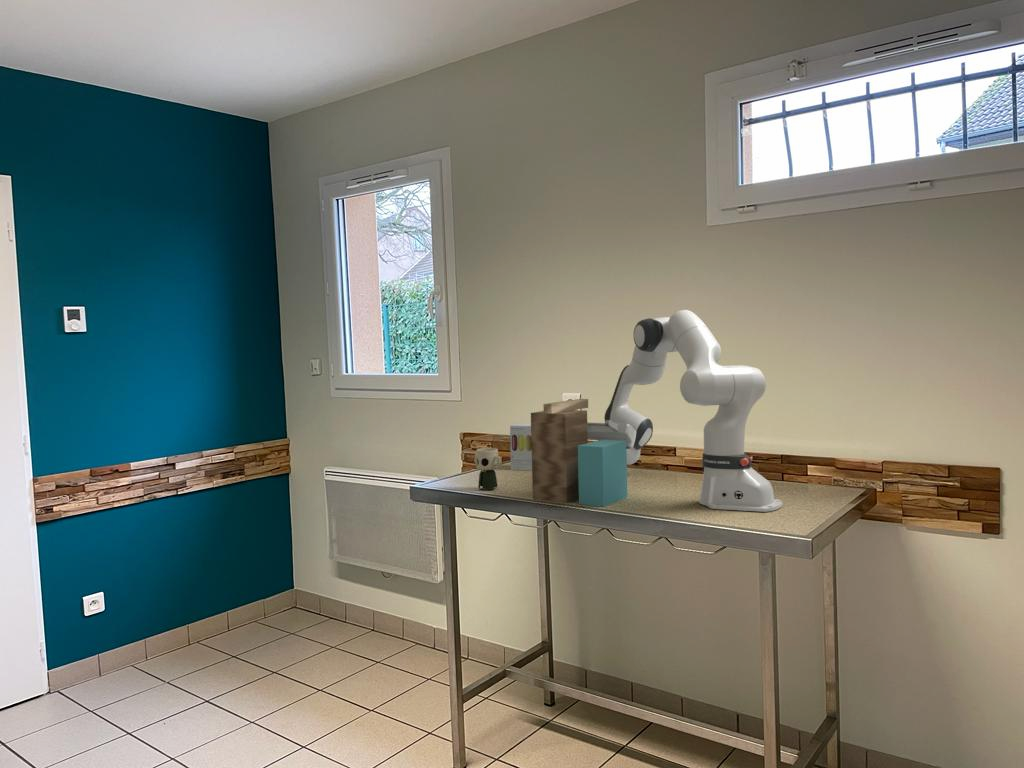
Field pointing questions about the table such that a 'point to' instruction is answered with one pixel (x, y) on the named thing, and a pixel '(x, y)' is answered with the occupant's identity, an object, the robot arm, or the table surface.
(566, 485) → the pillar
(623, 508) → the table surface
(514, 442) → the supplement box
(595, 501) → the teal rectangular block
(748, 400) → the robot arm
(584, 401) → the baton
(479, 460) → the character mug
